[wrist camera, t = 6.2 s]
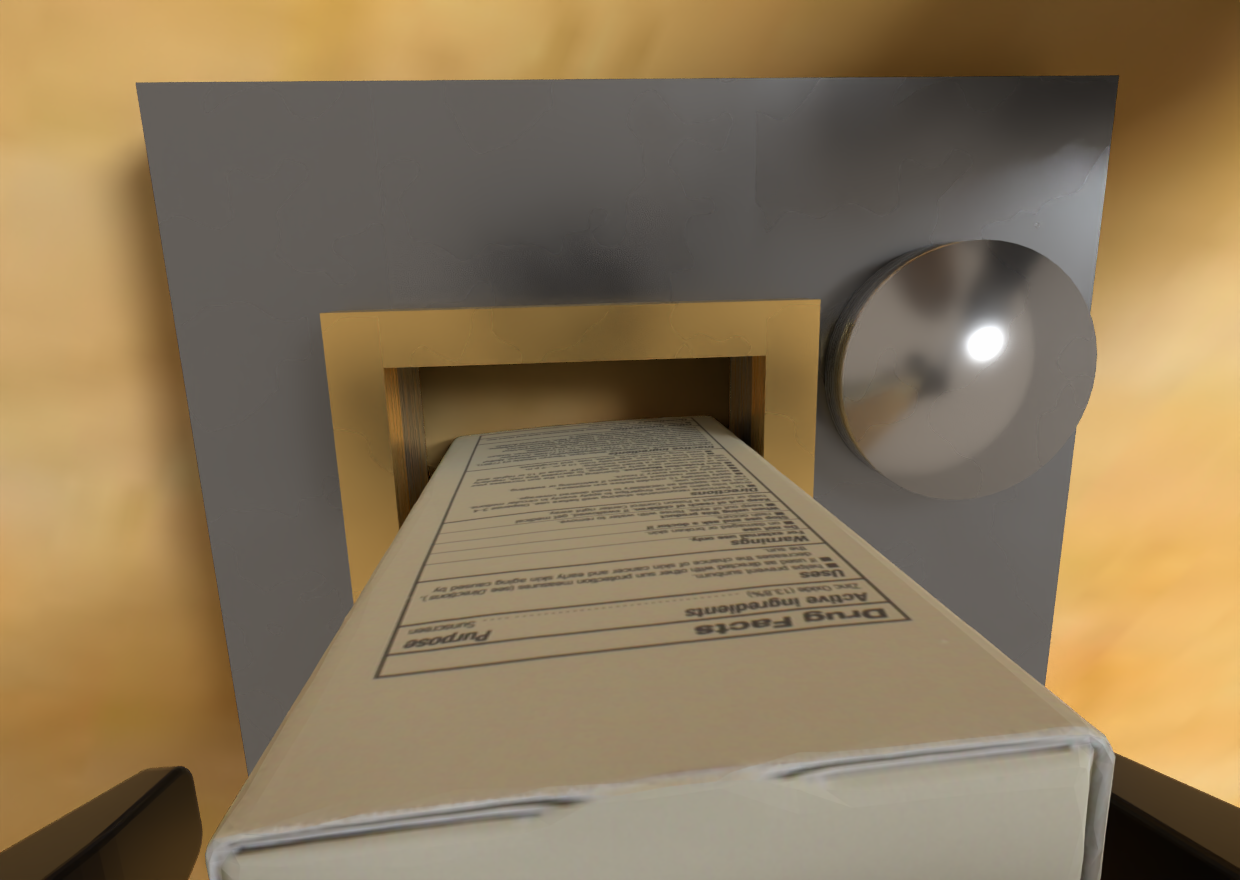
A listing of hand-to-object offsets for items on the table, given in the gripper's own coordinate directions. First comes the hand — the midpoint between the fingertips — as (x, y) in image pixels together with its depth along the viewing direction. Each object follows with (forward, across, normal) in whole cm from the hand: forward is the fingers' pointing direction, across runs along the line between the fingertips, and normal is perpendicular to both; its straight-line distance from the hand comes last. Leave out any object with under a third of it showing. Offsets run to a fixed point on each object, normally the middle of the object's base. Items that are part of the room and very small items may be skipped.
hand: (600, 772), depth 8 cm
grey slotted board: (+9, -2, -2) cm, 9 cm away
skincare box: (+9, 0, 0) cm, 9 cm away
